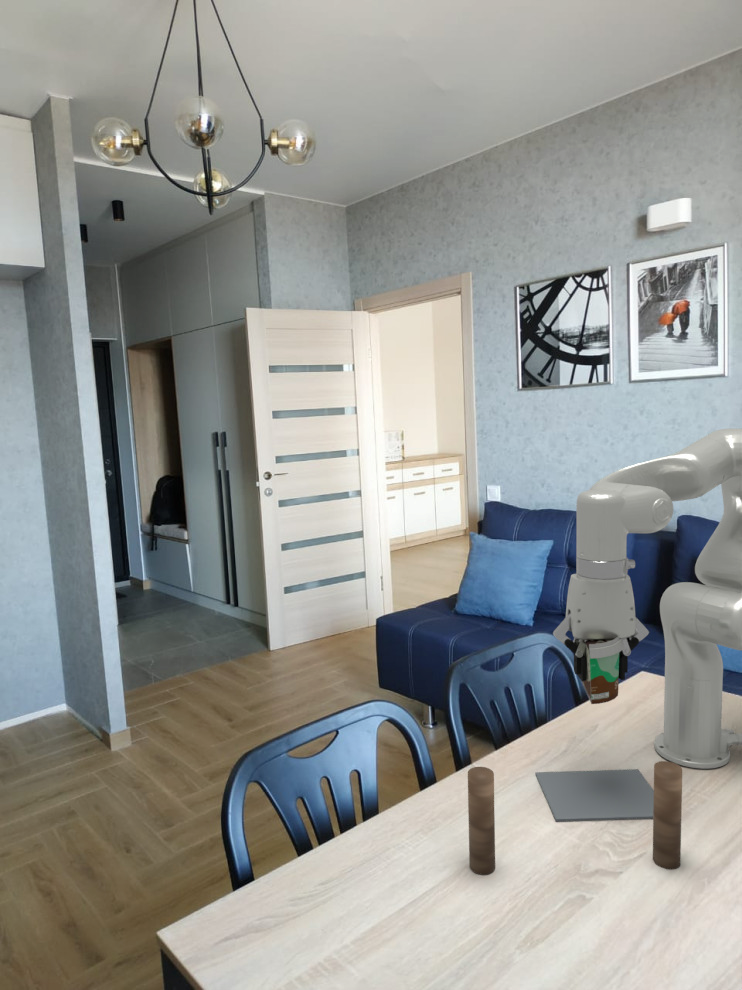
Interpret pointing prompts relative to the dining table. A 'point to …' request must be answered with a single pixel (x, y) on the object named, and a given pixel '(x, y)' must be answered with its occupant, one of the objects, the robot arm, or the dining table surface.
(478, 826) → the walnut post
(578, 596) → the robot arm
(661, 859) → the walnut post
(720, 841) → the dining table surface
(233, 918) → the dining table surface
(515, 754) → the dining table surface
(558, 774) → the charcoal mat
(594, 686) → the food container
